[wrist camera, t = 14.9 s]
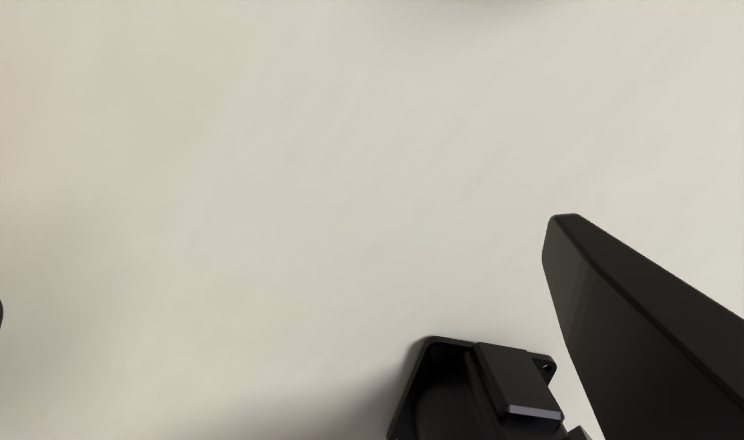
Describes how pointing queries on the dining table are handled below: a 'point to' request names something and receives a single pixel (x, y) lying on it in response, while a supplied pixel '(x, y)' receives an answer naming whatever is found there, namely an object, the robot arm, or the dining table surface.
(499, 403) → the robot arm
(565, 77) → the dining table surface
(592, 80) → the dining table surface
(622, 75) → the dining table surface
